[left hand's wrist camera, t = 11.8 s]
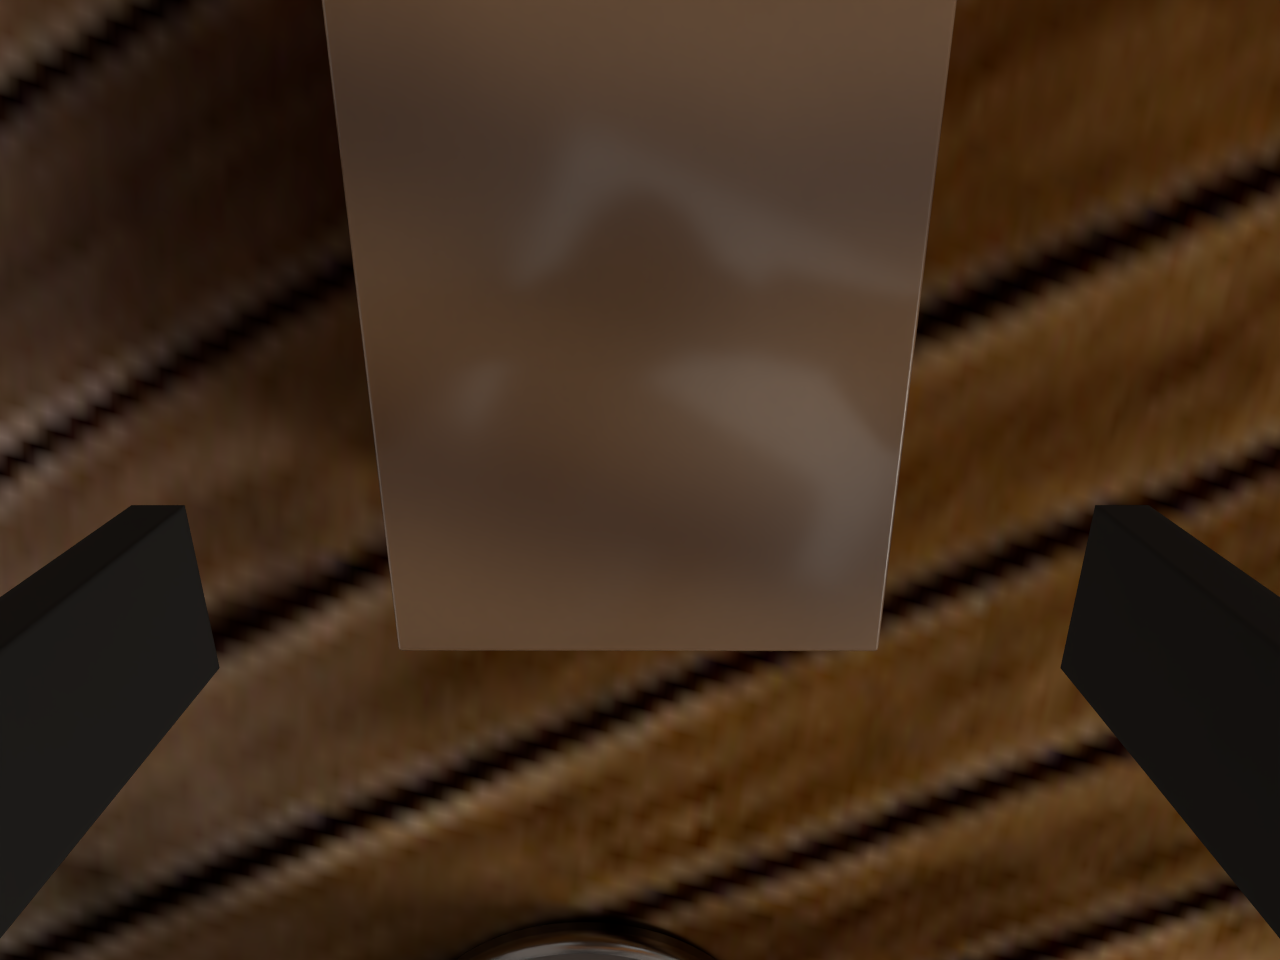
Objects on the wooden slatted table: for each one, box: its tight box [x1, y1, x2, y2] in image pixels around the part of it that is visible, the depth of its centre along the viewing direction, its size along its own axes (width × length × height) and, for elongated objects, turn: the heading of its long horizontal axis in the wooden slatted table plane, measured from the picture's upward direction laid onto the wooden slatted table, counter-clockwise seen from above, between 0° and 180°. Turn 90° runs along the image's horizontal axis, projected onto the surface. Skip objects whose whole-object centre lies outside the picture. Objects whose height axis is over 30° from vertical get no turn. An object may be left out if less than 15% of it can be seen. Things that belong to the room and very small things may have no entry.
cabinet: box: [322, 0, 957, 651], centre depth 19 cm, size 21×11×9 cm, turn 0°
